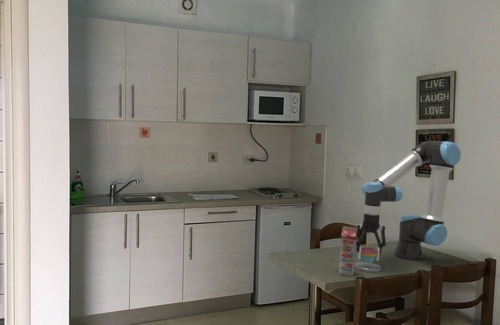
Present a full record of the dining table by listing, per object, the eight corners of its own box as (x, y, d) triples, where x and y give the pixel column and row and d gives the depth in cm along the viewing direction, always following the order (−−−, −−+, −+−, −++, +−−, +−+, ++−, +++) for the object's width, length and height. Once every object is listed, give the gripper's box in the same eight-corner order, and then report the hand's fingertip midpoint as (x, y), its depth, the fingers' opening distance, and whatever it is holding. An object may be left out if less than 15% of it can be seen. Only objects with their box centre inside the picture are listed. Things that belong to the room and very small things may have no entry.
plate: (377, 265, 233) (377, 262, 233) (384, 273, 220) (384, 270, 220) (351, 263, 233) (351, 261, 233) (356, 271, 220) (357, 269, 220)
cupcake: (355, 259, 229) (357, 236, 228) (369, 258, 232) (371, 235, 231) (366, 264, 221) (368, 240, 220) (380, 263, 224) (382, 239, 223)
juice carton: (340, 269, 221) (343, 224, 220) (354, 271, 220) (357, 226, 218) (338, 273, 215) (342, 227, 214) (353, 275, 213) (356, 229, 212)
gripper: (391, 213, 228) (387, 258, 230) (348, 210, 229) (345, 255, 230) (395, 216, 221) (391, 262, 222) (351, 213, 221) (348, 260, 223)
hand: (368, 259), depth 226 cm, fingers closed on cupcake, 8 cm apart
